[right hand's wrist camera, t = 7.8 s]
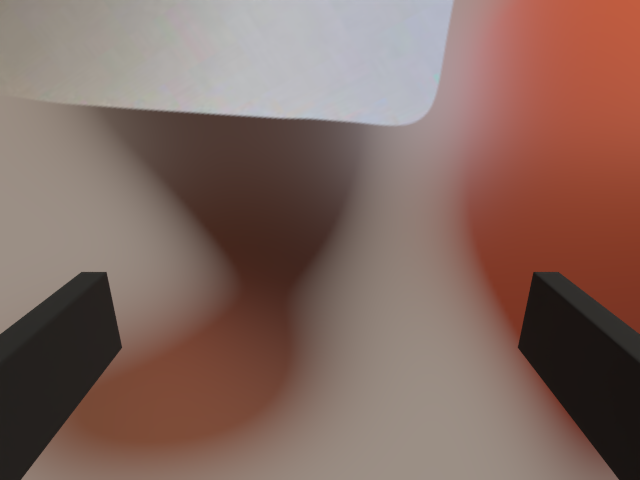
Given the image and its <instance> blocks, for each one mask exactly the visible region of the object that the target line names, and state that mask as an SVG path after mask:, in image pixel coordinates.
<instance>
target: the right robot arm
mask: <svg viewBox="0 0 640 480" xmlns="http://www.w3.org/2000/svg"><path fill="white" fill-rule="evenodd" d="M121 348H122V345H121V340H120V335H119V331H118V326H117V321H116V316H115V311H114V306H113V301H112V297H111V292H110V287H109V282H108V277H107V273H106V272H81V273H80V274H78V275H77V276H76V277H74V278H73V279H72V280H71V281H69V282H68V283H67V284H65V285H64V286H63V287H61V288H60V289H59V290H58V291H56V292H55V293H54V294H52V295H51V296H50V297H48V298H47V299H46V300H45V301H43V302H42V303H41V304H39V305H38V306H37V307H35V308H34V309H33V310H31V311H30V312H29V313H28V314H26V315H25V316H24V317H22V318H21V319H20V320H18V321H17V322H16V323H15V324H13V325H12V326H11V327H9V328H8V329H7V330H5V331H4V332H3V333H1V334H0V480H21V479H22V477H23V476H24V475H25V474H26V472H27V471H28V470H29V468H30V467H31V466H32V464H33V463H34V462H35V461H36V459H37V458H38V457H39V455H40V454H41V453H42V451H43V450H44V449H45V447H46V446H47V445H48V444H49V442H50V441H51V440H52V438H53V437H54V436H55V434H56V433H57V432H58V431H59V429H60V428H61V427H62V425H63V424H64V423H65V421H66V420H67V419H68V417H69V416H70V415H71V413H72V412H73V411H74V410H75V408H76V407H77V406H78V404H79V403H80V402H81V400H82V399H83V398H84V397H85V395H86V394H87V393H88V391H89V390H90V389H91V387H92V386H93V385H94V384H95V382H96V381H97V380H98V378H99V377H100V376H101V374H102V373H103V372H104V370H105V369H106V368H107V366H108V365H109V364H110V363H111V361H112V360H113V359H114V357H115V356H116V355H117V354H118V352H119V351H120V350H121ZM518 348H519V350H520V351H521V352H522V354H523V355H524V356H525V357H526V359H527V360H528V361H529V363H530V364H531V365H532V367H533V368H534V369H535V370H536V372H537V373H538V374H539V376H540V377H541V378H542V380H543V381H544V382H545V383H546V385H547V386H548V387H549V389H550V390H551V391H552V393H553V394H554V395H555V397H556V398H557V399H558V400H559V402H560V403H561V404H562V406H563V407H564V408H565V410H566V411H567V412H568V414H569V415H570V416H571V417H572V419H573V420H574V421H575V423H576V424H577V425H578V427H579V428H580V429H581V431H582V432H583V433H584V434H585V436H586V437H587V438H588V440H589V441H590V442H591V444H592V445H593V446H594V447H595V449H596V450H597V451H598V453H599V454H600V455H601V457H602V458H603V459H604V460H605V462H606V463H607V464H608V466H609V467H610V468H611V470H612V471H613V472H614V474H615V475H616V476H617V477H618V479H619V480H640V334H639V333H637V332H636V331H635V330H633V329H632V328H631V327H629V326H628V325H627V324H625V323H624V322H623V321H622V320H620V319H619V318H618V317H616V316H615V315H614V314H612V313H611V312H610V311H609V310H607V309H606V308H605V307H603V306H602V305H601V304H599V303H598V302H597V301H596V300H594V299H593V298H592V297H590V296H589V295H588V294H586V293H585V292H584V291H582V290H581V289H580V288H579V287H577V286H576V285H575V284H573V283H572V282H571V281H569V280H568V279H567V278H566V277H564V276H563V275H562V274H560V273H559V272H534V273H533V277H532V282H531V287H530V292H529V297H528V301H527V306H526V311H525V316H524V321H523V326H522V331H521V336H520V340H519V345H518Z"/></svg>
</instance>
